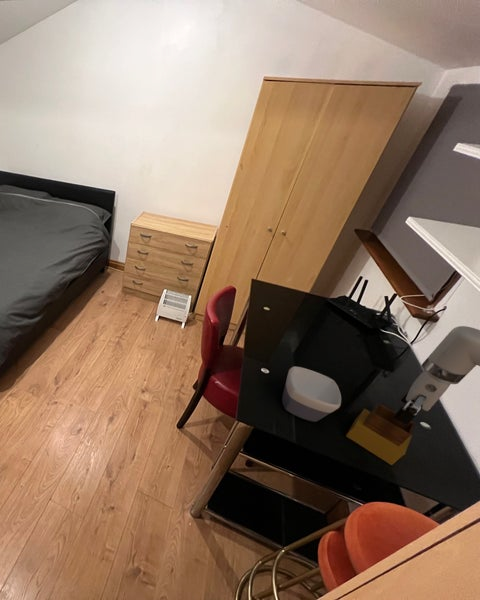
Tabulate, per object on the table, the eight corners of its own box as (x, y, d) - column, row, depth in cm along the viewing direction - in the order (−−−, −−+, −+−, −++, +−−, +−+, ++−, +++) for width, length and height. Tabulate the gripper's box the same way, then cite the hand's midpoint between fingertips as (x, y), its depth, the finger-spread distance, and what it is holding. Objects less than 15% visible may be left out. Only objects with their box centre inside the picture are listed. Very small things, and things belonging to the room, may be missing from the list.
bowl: (274, 412, 108) (289, 390, 102) (275, 382, 120) (288, 361, 114) (327, 433, 103) (345, 411, 97) (322, 400, 115) (339, 379, 108)
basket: (404, 434, 98) (415, 423, 95) (399, 447, 94) (411, 435, 91) (368, 413, 103) (378, 402, 100) (362, 424, 100) (372, 413, 97)
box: (399, 447, 101) (411, 435, 98) (391, 466, 95) (404, 454, 92) (354, 419, 109) (364, 408, 105) (345, 435, 103) (355, 424, 100)
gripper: (458, 394, 77) (414, 437, 86) (466, 364, 87) (425, 406, 96) (418, 375, 82) (380, 418, 91) (429, 349, 91) (394, 390, 101)
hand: (403, 412), depth 93 cm, fingers open, 9 cm apart
